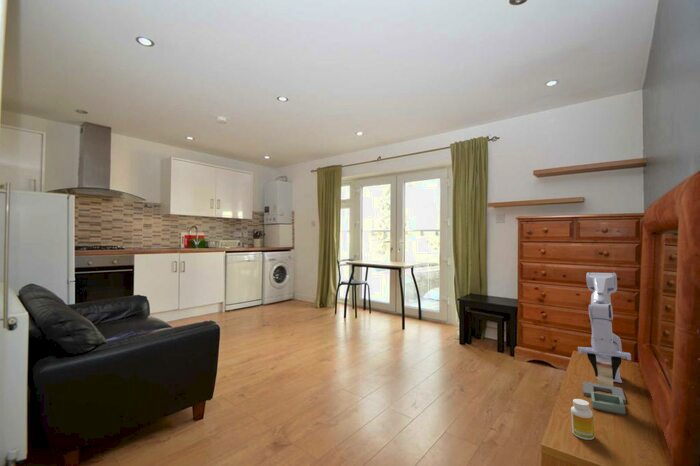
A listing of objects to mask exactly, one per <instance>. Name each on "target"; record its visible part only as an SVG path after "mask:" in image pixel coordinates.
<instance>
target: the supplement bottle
mask: <svg viewBox="0 0 700 466" xmlns="http://www.w3.org/2000/svg"><path fill="white" fill-rule="evenodd" d="M572 404H573V406H571V407H570V418H571V432H572V434H573V435H574V436H576V437H577V438H579V439H582V440H587V441H591V440H594V438H595V427H594V413H593V411H592V410H591V408H590V403H589V401H587V400H584V399H583V398H582V399H581V398H573V400H572Z"/></svg>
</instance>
